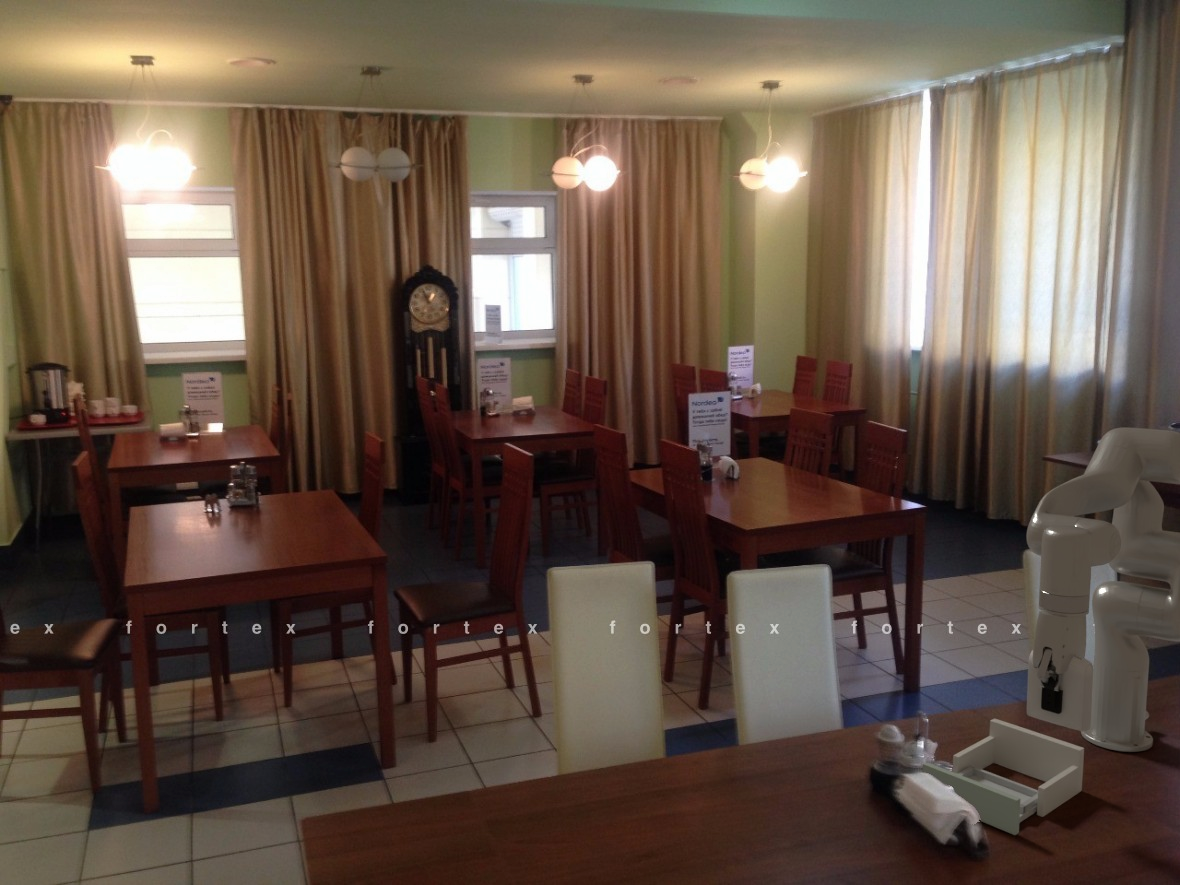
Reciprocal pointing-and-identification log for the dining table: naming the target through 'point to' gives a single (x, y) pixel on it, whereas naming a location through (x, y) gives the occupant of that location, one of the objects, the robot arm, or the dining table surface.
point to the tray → (991, 795)
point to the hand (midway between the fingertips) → (1058, 705)
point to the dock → (1029, 761)
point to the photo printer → (1065, 695)
